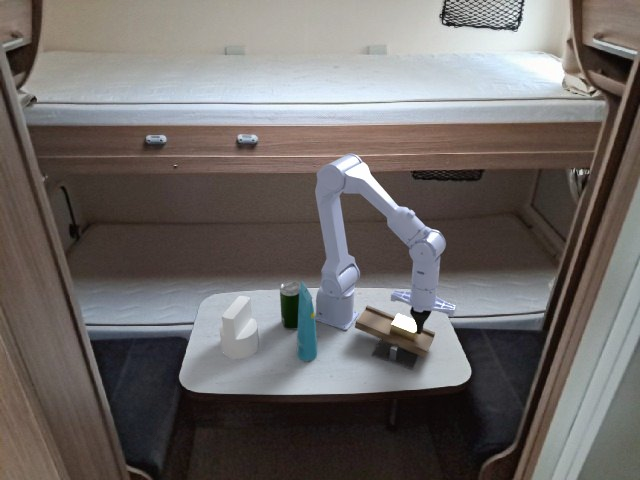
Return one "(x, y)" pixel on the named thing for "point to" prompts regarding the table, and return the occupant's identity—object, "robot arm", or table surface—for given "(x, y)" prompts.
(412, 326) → the rider
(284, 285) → the beer can
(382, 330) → the beam
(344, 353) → the table surface
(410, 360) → the beam stand
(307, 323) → the tube
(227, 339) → the base with upright slab
